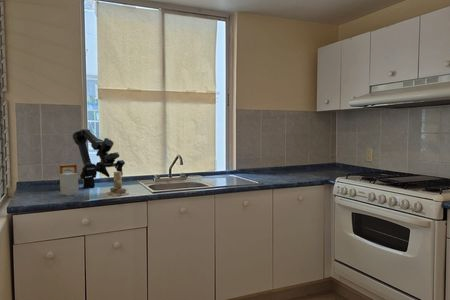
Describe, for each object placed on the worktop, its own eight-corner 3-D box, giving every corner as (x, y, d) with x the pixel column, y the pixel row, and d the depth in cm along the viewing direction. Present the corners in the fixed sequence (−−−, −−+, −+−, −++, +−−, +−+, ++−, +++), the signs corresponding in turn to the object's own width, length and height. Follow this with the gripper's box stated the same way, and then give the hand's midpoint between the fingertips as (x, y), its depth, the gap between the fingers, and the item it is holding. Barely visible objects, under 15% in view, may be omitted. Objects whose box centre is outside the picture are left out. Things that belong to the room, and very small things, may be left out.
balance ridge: (106, 193, 206) (106, 188, 206) (118, 191, 213) (117, 186, 213) (117, 196, 200) (117, 190, 200) (129, 194, 206) (129, 188, 206)
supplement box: (79, 193, 206) (78, 173, 205) (67, 195, 200) (67, 174, 199) (71, 192, 210) (70, 172, 209) (60, 194, 204) (59, 173, 203)
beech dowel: (113, 189, 203) (113, 172, 203) (114, 187, 208) (114, 171, 207) (121, 188, 204) (121, 172, 204) (121, 187, 209) (121, 171, 208)
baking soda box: (60, 190, 218) (60, 165, 217) (60, 188, 223) (59, 164, 222) (76, 188, 222) (76, 164, 221) (75, 187, 228) (75, 163, 227)
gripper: (96, 148, 201) (107, 169, 195) (123, 147, 216) (134, 166, 210) (89, 161, 207) (100, 181, 201) (115, 158, 221) (126, 177, 216)
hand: (115, 176), depth 207 cm, fingers open, 9 cm apart
